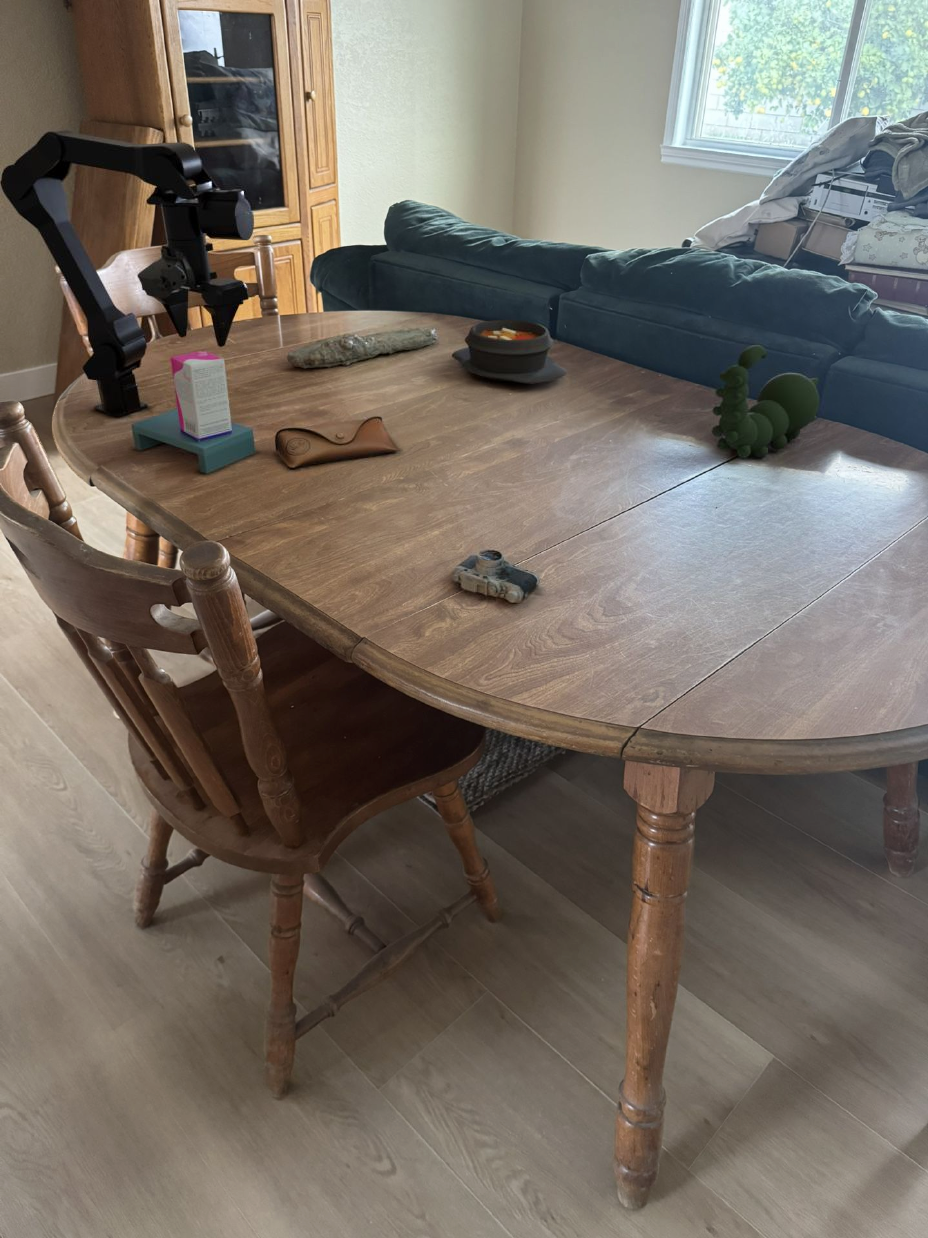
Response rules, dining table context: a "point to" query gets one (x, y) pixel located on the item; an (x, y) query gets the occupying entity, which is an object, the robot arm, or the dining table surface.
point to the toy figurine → (762, 408)
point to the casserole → (509, 352)
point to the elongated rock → (359, 347)
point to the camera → (495, 576)
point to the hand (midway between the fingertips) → (202, 341)
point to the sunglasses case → (333, 442)
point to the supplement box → (201, 395)
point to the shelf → (209, 452)
